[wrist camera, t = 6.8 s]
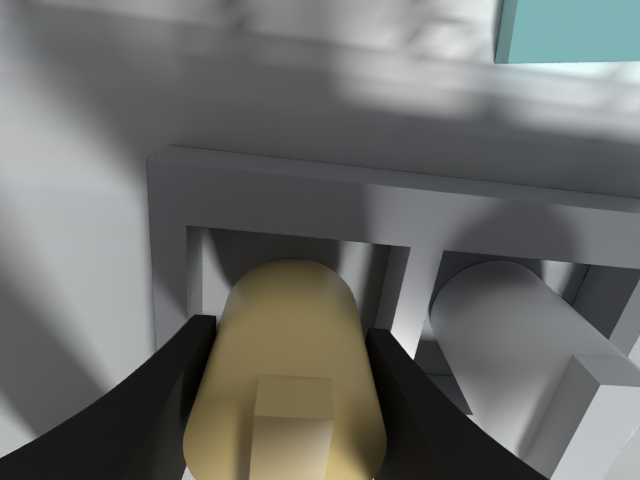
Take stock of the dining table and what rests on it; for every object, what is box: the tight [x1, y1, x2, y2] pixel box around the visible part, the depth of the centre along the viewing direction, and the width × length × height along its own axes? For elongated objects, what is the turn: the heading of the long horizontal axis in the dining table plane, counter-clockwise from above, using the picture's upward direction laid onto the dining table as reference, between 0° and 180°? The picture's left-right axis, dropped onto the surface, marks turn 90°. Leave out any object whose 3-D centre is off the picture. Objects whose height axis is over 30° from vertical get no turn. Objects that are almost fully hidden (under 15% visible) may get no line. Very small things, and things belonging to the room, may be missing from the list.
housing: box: [146, 145, 640, 426], centre depth 14 cm, size 16×11×2 cm
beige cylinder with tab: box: [183, 258, 387, 480], centre depth 10 cm, size 4×4×6 cm
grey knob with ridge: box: [430, 261, 640, 480], centre depth 12 cm, size 4×4×6 cm
